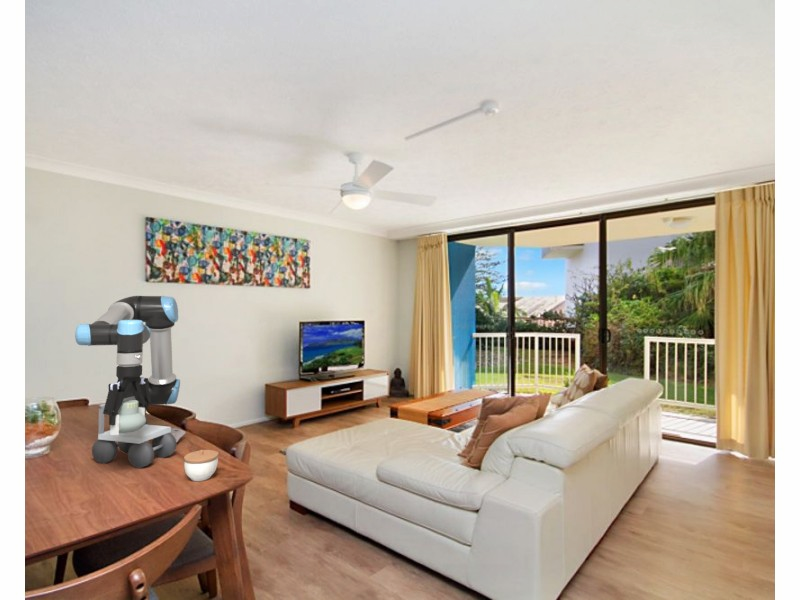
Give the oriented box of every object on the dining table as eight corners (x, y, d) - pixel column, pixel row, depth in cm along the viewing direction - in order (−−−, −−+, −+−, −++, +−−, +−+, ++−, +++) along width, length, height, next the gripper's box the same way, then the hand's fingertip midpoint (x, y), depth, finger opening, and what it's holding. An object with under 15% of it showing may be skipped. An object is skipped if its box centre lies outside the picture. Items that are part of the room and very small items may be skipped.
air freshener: (148, 430, 148) (149, 401, 148) (123, 436, 141) (123, 406, 141) (132, 425, 154) (132, 397, 154) (106, 431, 147) (107, 401, 147)
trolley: (124, 450, 173) (125, 395, 173) (177, 456, 167) (179, 399, 167) (89, 463, 158) (91, 403, 159) (146, 470, 153) (148, 408, 153)
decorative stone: (188, 439, 188) (188, 425, 188) (174, 446, 179) (174, 432, 179) (159, 438, 189) (159, 424, 190) (144, 445, 180) (144, 430, 180)
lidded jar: (182, 486, 140) (183, 457, 140) (184, 474, 150) (185, 447, 150) (218, 481, 144) (218, 453, 144) (217, 470, 154) (218, 443, 154)
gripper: (109, 370, 136) (107, 441, 136) (164, 361, 158) (162, 422, 157) (90, 368, 138) (88, 438, 138) (147, 360, 160) (145, 420, 159)
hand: (127, 430), depth 148 cm, fingers closed on air freshener, 10 cm apart
